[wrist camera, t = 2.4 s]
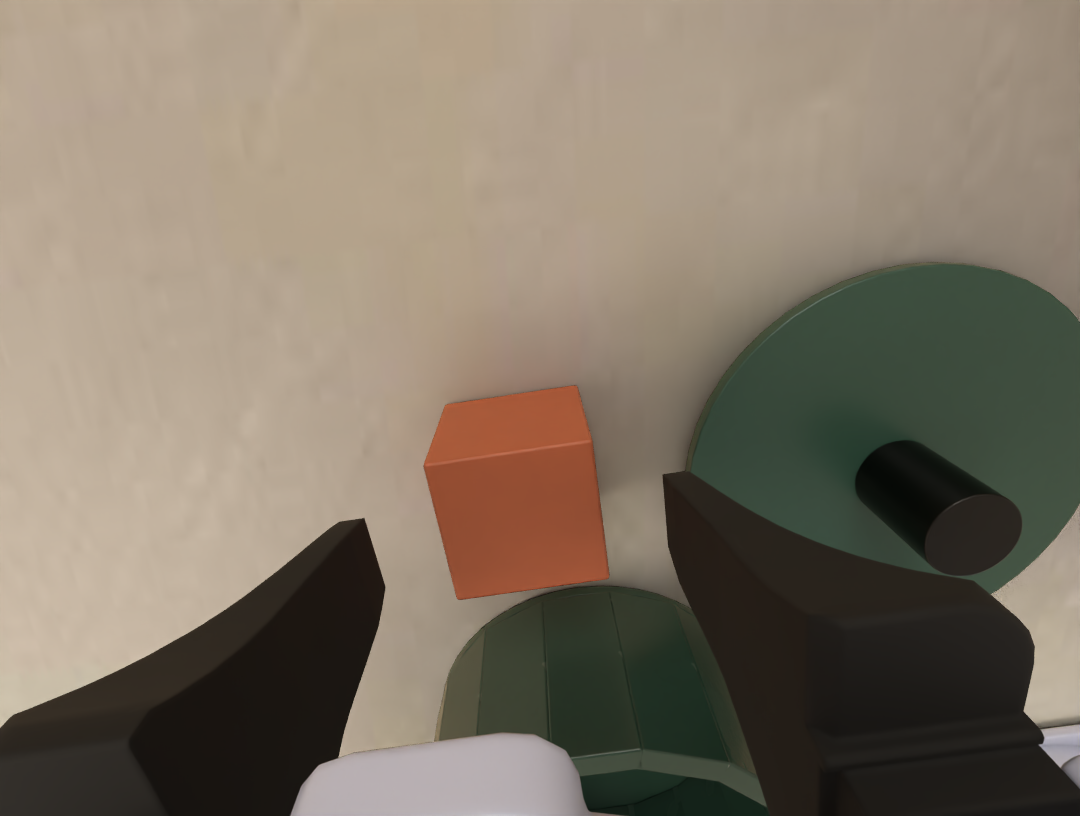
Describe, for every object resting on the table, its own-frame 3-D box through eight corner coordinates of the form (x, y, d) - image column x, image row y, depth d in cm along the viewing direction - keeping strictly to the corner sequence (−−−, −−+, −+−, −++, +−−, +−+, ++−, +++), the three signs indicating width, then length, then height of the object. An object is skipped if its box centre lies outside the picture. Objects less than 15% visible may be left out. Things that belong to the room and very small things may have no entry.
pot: (740, 564, 19) (833, 724, 14) (745, 790, 23) (819, 988, 18) (411, 610, 20) (364, 786, 14) (473, 825, 24) (458, 1031, 18)
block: (577, 383, 17) (592, 439, 13) (592, 500, 18) (610, 580, 14) (444, 403, 17) (421, 464, 13) (469, 517, 18) (456, 601, 15)
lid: (1114, 226, 16) (1318, 239, 12) (1037, 589, 20) (1166, 689, 16) (665, 295, 16) (714, 331, 12) (689, 637, 20) (730, 747, 16)
